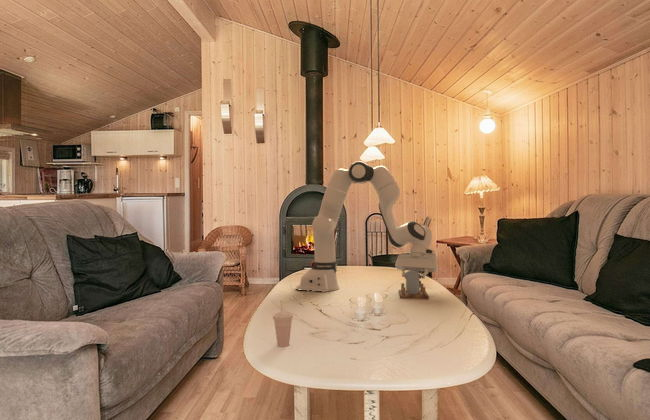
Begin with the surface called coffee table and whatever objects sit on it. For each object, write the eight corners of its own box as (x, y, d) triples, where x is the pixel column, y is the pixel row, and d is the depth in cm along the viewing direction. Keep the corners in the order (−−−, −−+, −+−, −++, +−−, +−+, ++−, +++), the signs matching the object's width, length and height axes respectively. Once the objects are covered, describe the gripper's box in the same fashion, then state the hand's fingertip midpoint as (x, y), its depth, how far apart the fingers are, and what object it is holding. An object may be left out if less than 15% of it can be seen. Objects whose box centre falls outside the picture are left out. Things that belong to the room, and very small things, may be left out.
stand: (400, 298, 196) (399, 288, 196) (398, 292, 209) (398, 282, 209) (428, 298, 195) (428, 288, 195) (425, 292, 208) (425, 283, 208)
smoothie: (283, 340, 139) (282, 298, 139) (297, 344, 135) (296, 300, 135) (269, 345, 134) (268, 301, 134) (283, 349, 130) (282, 304, 130)
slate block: (406, 293, 201) (406, 272, 201) (409, 291, 206) (409, 270, 205) (416, 294, 199) (416, 273, 198) (419, 292, 203) (419, 271, 203)
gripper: (397, 249, 214) (390, 271, 205) (437, 251, 204) (432, 274, 195) (400, 257, 218) (394, 279, 209) (440, 259, 208) (435, 282, 199)
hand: (413, 276), depth 202 cm, fingers open, 8 cm apart
